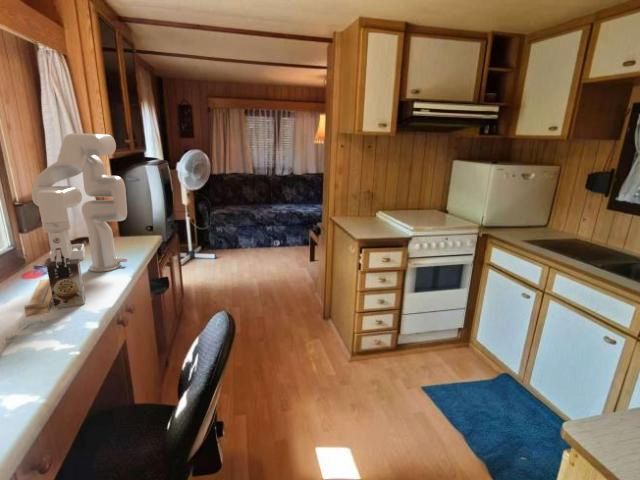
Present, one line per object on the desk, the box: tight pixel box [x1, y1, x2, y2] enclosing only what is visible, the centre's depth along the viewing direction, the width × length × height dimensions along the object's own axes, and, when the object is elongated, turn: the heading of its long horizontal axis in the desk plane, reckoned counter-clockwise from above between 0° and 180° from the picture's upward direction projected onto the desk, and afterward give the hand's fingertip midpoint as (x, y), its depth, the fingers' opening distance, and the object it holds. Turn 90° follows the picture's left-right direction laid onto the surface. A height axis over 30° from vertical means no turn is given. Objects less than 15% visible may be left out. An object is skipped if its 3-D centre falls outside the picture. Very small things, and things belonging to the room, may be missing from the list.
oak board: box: [23, 278, 53, 318], centre depth 134 cm, size 6×30×4 cm, turn 29°
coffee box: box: [46, 259, 87, 310], centre depth 128 cm, size 9×6×16 cm
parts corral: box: [49, 243, 86, 261], centre depth 176 cm, size 13×12×5 cm
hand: (65, 273), depth 127 cm, fingers closed on coffee box, 6 cm apart
